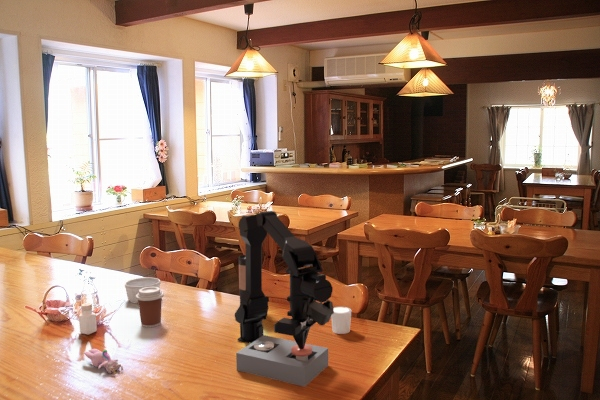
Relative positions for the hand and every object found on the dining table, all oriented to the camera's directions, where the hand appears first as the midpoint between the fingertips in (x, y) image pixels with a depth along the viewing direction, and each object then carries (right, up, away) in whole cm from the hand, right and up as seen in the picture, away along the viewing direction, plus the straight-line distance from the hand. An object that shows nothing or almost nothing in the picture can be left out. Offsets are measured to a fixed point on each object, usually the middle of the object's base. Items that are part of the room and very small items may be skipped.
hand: (301, 348), depth 147 cm
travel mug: (-18, 0, +50) cm, 54 cm away
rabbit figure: (-56, -7, +6) cm, 56 cm away
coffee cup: (-51, -2, +39) cm, 64 cm away
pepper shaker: (-69, -4, +32) cm, 77 cm away
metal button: (-10, -6, +7) cm, 14 cm away
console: (-5, -6, +4) cm, 9 cm away
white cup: (+13, -3, +30) cm, 33 cm away
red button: (0, -5, +1) cm, 6 cm away
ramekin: (-61, +1, +66) cm, 90 cm away
